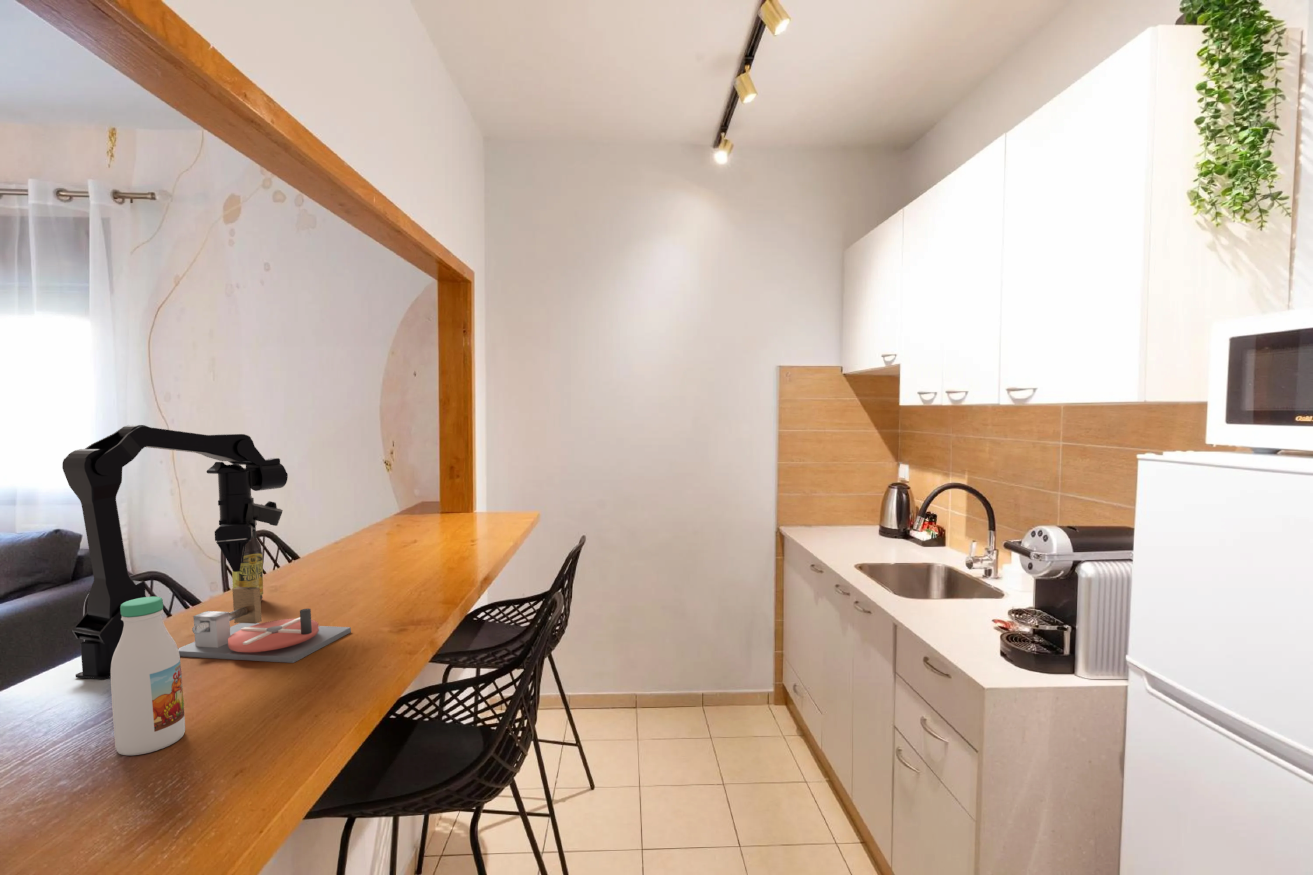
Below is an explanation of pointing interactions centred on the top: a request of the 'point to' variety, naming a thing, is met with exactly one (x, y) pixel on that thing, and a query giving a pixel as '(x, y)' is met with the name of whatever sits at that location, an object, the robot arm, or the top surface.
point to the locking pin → (240, 608)
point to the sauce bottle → (250, 567)
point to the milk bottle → (146, 681)
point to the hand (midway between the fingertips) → (238, 567)
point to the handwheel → (274, 634)
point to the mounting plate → (216, 646)
